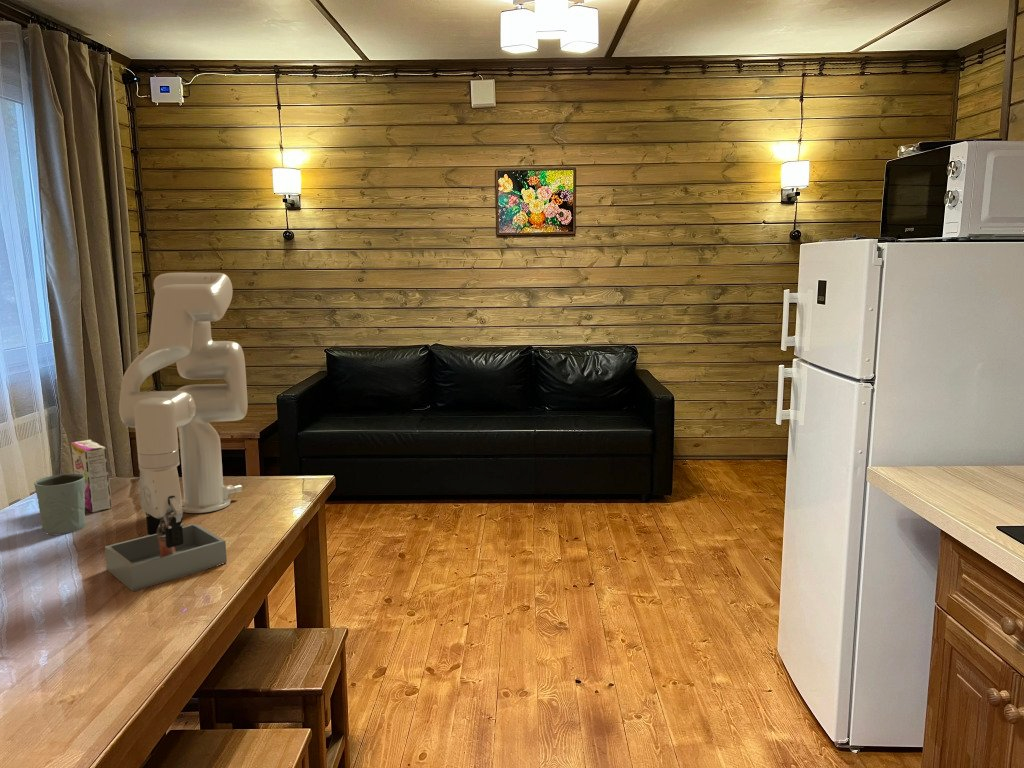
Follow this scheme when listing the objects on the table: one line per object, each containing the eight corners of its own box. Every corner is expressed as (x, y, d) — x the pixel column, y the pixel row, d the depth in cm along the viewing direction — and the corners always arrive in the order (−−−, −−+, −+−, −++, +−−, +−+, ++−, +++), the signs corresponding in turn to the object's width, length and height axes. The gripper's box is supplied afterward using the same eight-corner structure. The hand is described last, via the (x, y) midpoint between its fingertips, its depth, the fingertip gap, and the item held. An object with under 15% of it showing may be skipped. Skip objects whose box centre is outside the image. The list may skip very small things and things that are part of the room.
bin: (196, 544, 166) (195, 523, 165) (226, 563, 156) (225, 540, 155) (106, 569, 152) (104, 546, 152) (133, 591, 142) (131, 567, 142)
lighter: (177, 569, 151) (174, 523, 149) (159, 572, 150) (155, 525, 148) (177, 555, 158) (173, 510, 156) (159, 558, 157) (155, 512, 155)
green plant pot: (39, 539, 169) (33, 488, 167) (39, 525, 177) (34, 477, 175) (90, 530, 174) (85, 481, 172) (88, 517, 183) (83, 470, 181)
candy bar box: (75, 503, 193) (69, 442, 190) (96, 499, 197) (91, 438, 194) (91, 513, 185) (84, 450, 183) (112, 508, 189) (106, 446, 186)
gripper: (123, 454, 153) (130, 533, 156) (156, 471, 142) (163, 556, 145) (161, 448, 159) (167, 524, 162) (195, 463, 147) (201, 545, 150)
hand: (165, 539), depth 153 cm, fingers open, 9 cm apart
